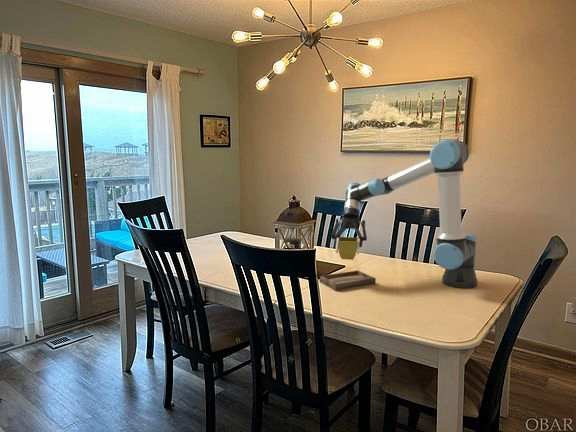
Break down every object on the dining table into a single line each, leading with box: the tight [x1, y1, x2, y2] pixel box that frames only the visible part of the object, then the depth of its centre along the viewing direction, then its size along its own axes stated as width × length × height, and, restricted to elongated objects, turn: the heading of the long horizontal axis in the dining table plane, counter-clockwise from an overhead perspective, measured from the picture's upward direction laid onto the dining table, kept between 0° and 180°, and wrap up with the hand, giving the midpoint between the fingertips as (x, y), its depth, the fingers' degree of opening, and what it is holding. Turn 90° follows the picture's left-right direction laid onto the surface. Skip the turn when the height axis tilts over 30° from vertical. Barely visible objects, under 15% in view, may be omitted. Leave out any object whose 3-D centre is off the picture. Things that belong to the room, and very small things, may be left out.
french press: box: [283, 228, 303, 250], centre depth 219 cm, size 12×9×23 cm
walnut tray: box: [319, 269, 376, 292], centre depth 202 cm, size 14×21×3 cm, turn 116°
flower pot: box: [338, 236, 359, 261], centre depth 199 cm, size 9×9×9 cm
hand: (347, 252), depth 196 cm, fingers closed on flower pot, 9 cm apart
